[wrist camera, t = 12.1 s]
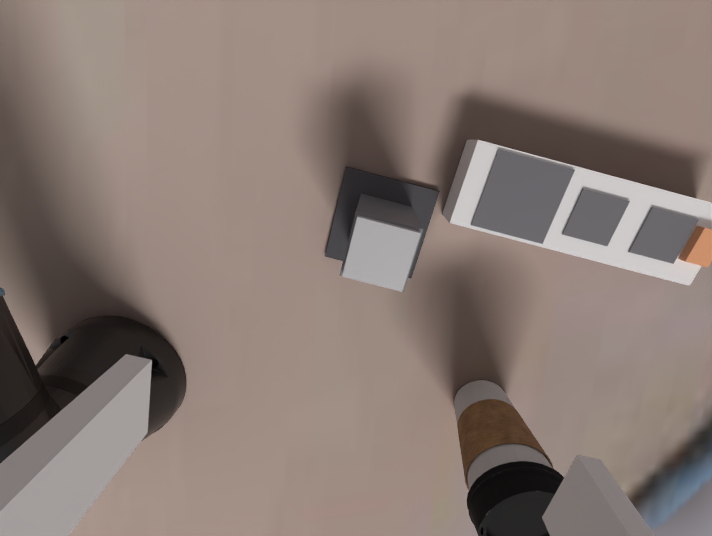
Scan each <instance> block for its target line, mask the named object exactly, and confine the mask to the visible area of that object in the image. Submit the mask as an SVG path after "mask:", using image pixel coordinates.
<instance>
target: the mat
mask: <svg viewBox="0 0 712 536" xmlns="http://www.w3.org/2000/svg"><path fill="white" fill-rule="evenodd" d="M361 194H365V195H369V196H373V197H377V198H380V199H384V200H388V201H392V202H396V203H399V204H403V205H407V206H411V207H412V208H413V210H414V212H415V214H416V216H417V218H418V220H419V222H420V224H421V226H422V228H423V232H422V236H421V239H420V242H419V245H418V248H417V251H416V254H415V257H414V260H413V264H412V267H411V270H410V273H409V276H408V278H411V277H412V274H413V271H414V268H415V265H416V262H417V259H418V256H419V253H420V250H421V247H422V244H423V240H424V237H425V234H426V231H427V228H428V225H429V222H430V219H431V216H432V213H433V210H434V207H435V204H436V200H437V197H438V194H439V191H436V190H433V189H429V188H425V187H421V186H417V185H414V184H410V183H406V182H402V181H399V180H395V179H391V178H387V177H384V176H380V175H376V174H372V173H368V172H365V171H361V170H357V169H353V168H350V167H346V170H345V174H344V178H343V183H342V187H341V191H340V195H339V200H338V204H337V208H336V212H335V217H334V221H333V225H332V229H331V234H330V238H329V242H328V246H327V251H326V255H325V256H326V257H330V258H333V259H337V260H341V261H343V260H344V256H345V252H346V248H347V244H348V240H349V236H350V232H351V228H352V224H353V220H354V216H355V212H356V209H357V206H358V202H359V199H360V196H361Z"/></svg>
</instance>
